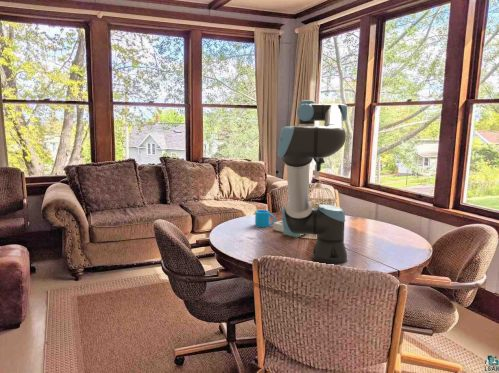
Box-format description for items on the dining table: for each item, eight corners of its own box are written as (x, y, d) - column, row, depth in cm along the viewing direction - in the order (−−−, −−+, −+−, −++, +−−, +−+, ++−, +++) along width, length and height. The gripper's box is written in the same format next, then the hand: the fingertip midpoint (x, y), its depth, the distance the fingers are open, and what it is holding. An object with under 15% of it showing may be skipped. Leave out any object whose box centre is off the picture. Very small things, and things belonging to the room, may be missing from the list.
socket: (307, 233, 220) (307, 223, 219) (297, 237, 213) (297, 226, 212) (293, 230, 226) (293, 220, 225) (283, 234, 219) (283, 223, 218)
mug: (253, 226, 235) (253, 212, 233) (258, 223, 242) (258, 209, 241) (273, 228, 230) (273, 214, 229) (277, 225, 238) (277, 211, 237)
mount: (291, 229, 228) (291, 222, 227) (283, 232, 223) (284, 225, 222) (281, 227, 232) (281, 220, 232) (273, 229, 227) (273, 222, 227)
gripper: (332, 133, 193) (331, 178, 197) (290, 132, 210) (289, 173, 213) (324, 133, 188) (322, 179, 191) (281, 132, 204) (280, 174, 208)
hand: (305, 176), depth 202 cm, fingers open, 13 cm apart
